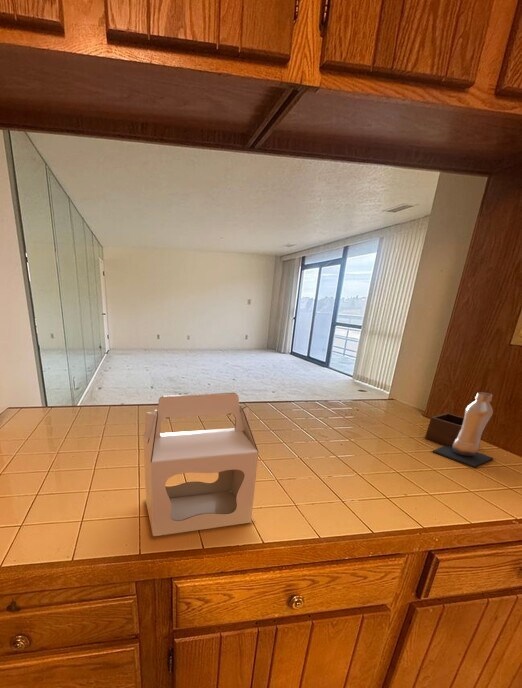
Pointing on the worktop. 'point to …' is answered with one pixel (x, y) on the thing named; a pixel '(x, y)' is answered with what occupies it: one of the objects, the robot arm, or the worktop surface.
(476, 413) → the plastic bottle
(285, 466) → the worktop surface
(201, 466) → the gable box
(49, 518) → the worktop surface
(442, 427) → the holder
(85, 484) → the worktop surface
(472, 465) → the mat
